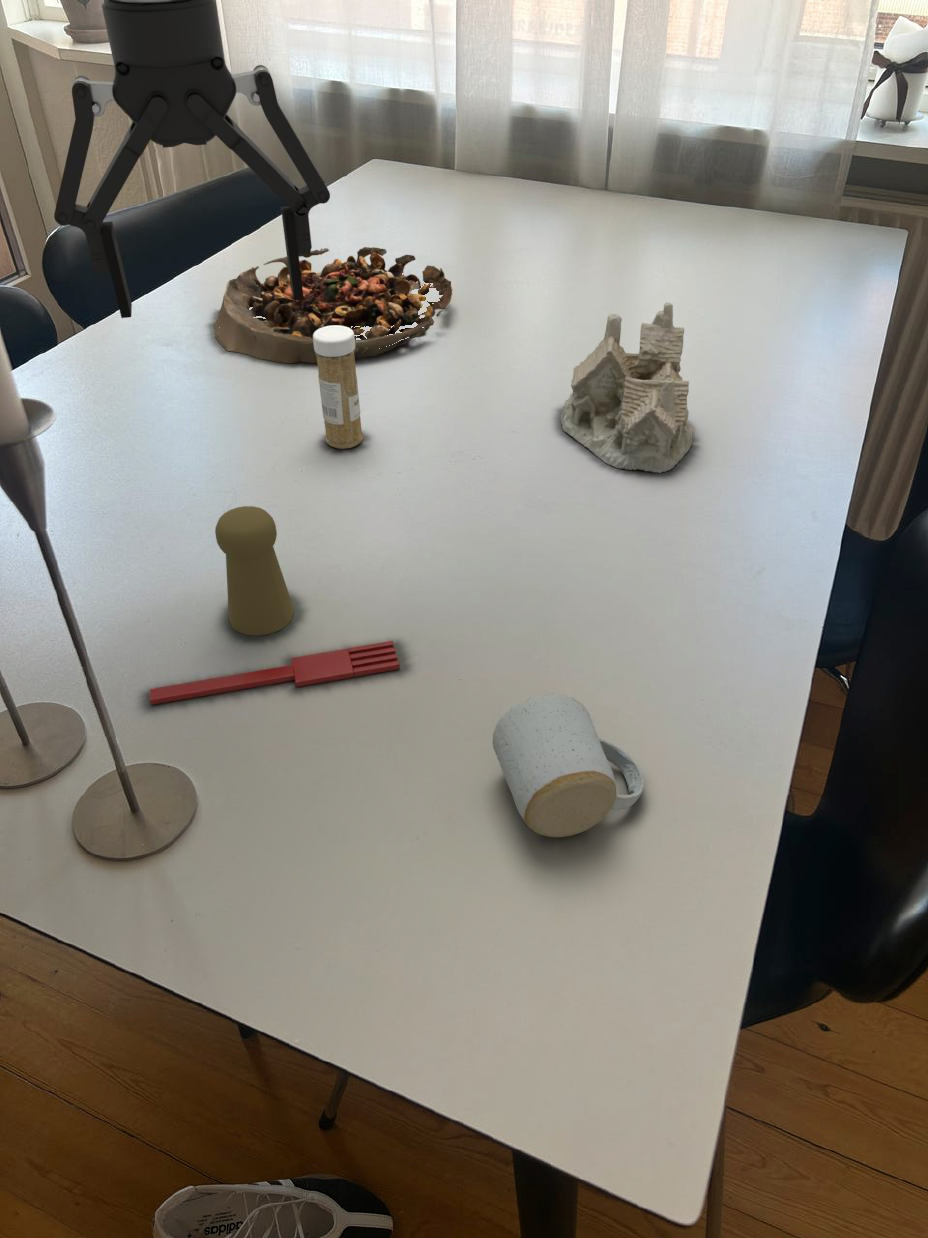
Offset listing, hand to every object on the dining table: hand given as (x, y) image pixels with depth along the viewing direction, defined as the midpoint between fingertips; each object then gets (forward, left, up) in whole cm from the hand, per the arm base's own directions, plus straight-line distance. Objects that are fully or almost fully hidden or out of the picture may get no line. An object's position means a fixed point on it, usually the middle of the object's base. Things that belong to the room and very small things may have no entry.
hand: (213, 302), depth 78 cm
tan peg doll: (+1, -7, -27) cm, 28 cm away
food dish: (-1, +62, -27) cm, 67 cm away
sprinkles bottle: (+5, +25, -27) cm, 37 cm away
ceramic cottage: (+38, +27, -27) cm, 54 cm away
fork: (+4, -16, -27) cm, 31 cm away
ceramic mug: (+29, -28, -27) cm, 48 cm away
